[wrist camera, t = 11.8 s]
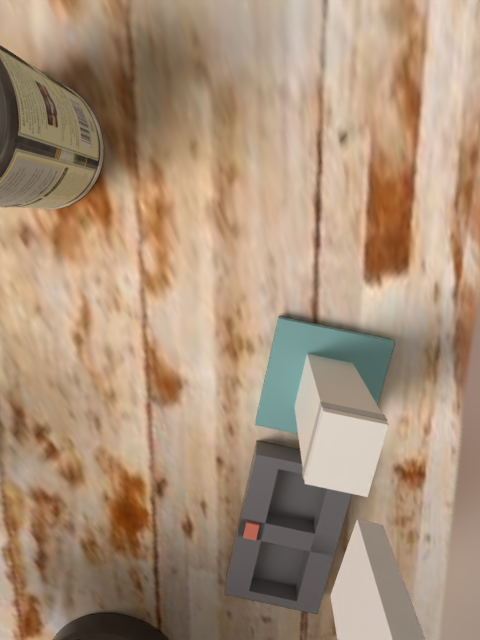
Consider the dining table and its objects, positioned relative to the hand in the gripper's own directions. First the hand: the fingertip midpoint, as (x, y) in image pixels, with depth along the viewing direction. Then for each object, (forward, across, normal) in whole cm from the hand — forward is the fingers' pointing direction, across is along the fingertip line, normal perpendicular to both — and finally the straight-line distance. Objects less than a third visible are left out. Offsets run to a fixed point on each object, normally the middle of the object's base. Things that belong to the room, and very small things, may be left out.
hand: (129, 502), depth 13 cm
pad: (+27, -10, +4) cm, 29 cm away
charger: (+26, -10, +4) cm, 28 cm away
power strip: (+27, -11, +18) cm, 34 cm away
